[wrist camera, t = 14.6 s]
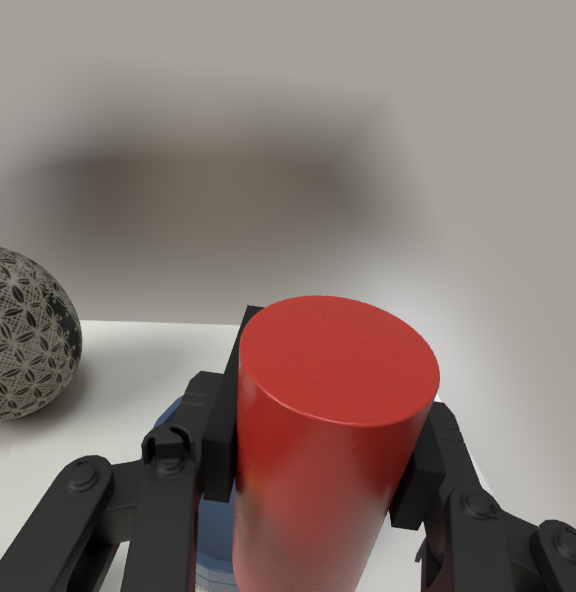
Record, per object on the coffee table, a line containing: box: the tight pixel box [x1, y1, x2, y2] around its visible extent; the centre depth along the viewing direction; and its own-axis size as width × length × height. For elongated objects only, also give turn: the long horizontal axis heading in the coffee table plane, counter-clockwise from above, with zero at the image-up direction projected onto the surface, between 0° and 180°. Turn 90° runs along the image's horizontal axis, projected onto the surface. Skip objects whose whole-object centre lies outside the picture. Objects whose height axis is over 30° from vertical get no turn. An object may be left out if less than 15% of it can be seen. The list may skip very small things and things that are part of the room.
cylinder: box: [232, 296, 440, 592], centre depth 12 cm, size 5×5×10 cm
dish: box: [141, 396, 240, 592], centre depth 29 cm, size 16×16×4 cm
